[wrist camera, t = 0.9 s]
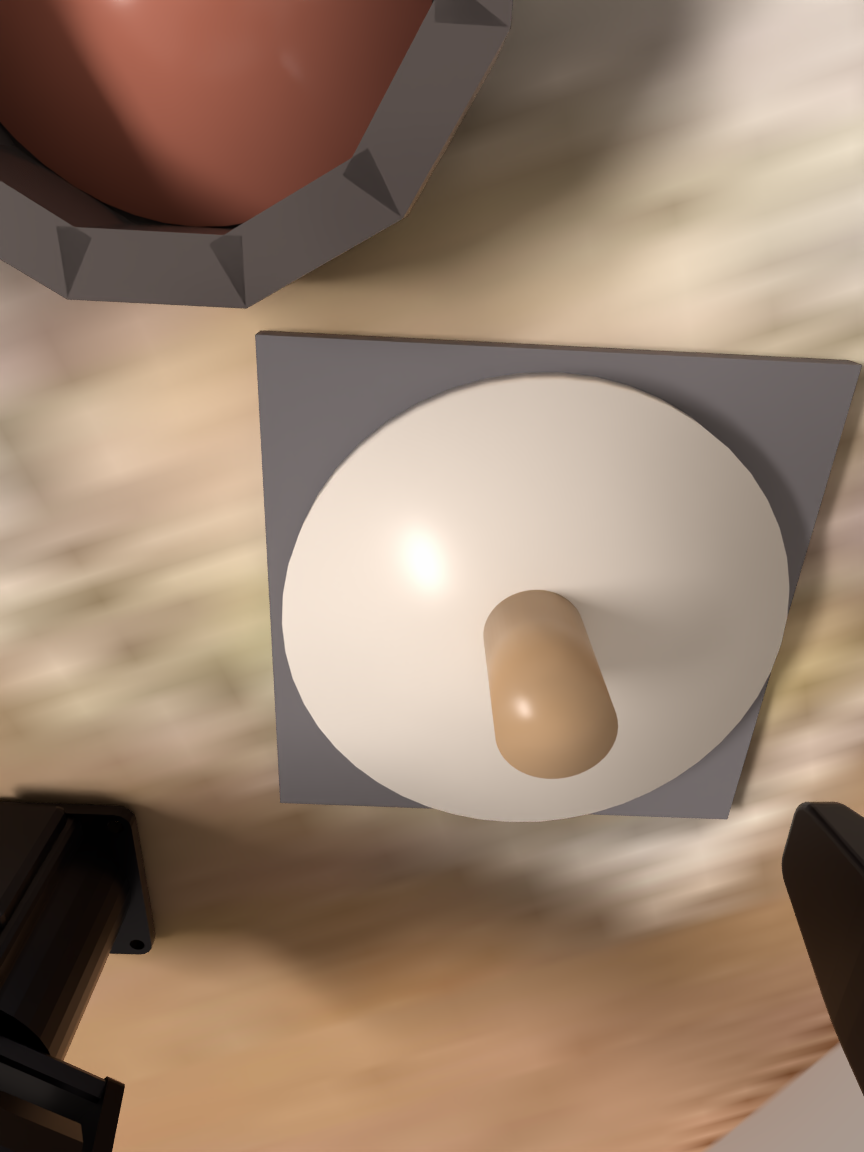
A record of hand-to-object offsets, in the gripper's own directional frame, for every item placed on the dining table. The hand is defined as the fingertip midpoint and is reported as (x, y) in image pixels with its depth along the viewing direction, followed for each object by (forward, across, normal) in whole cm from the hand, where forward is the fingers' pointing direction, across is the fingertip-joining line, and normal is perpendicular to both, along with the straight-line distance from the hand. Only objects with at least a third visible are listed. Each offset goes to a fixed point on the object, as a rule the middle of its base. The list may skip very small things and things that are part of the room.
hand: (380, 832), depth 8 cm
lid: (+12, -3, +4) cm, 13 cm away
